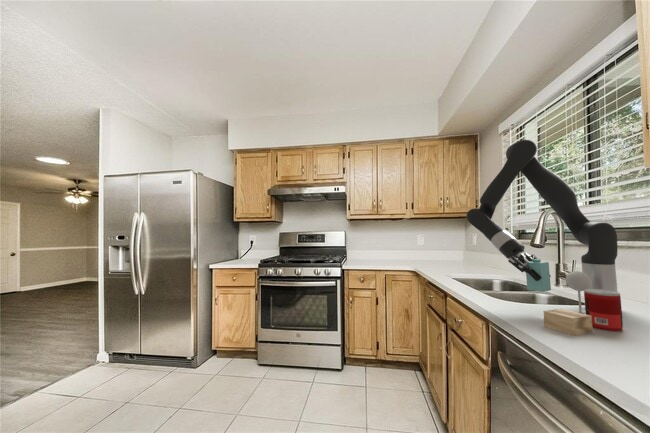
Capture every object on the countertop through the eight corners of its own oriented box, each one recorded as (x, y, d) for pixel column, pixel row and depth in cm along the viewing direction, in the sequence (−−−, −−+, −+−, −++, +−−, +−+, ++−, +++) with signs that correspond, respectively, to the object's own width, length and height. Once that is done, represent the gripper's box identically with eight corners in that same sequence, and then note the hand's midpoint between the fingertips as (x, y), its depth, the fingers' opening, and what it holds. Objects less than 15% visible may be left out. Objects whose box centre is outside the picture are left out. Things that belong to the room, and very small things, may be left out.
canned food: (631, 332, 79) (627, 294, 80) (598, 330, 81) (595, 293, 81) (609, 323, 87) (606, 289, 87) (580, 322, 88) (577, 288, 89)
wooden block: (562, 324, 87) (561, 308, 88) (592, 332, 80) (591, 315, 80) (544, 327, 85) (543, 311, 85) (574, 336, 77) (572, 318, 78)
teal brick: (535, 287, 101) (532, 258, 102) (551, 290, 96) (548, 259, 97) (527, 289, 99) (524, 259, 100) (542, 291, 94) (540, 260, 95)
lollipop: (575, 309, 103) (572, 269, 104) (599, 314, 97) (595, 271, 98) (563, 310, 101) (560, 270, 102) (586, 316, 94) (583, 273, 96)
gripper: (501, 238, 103) (540, 274, 91) (524, 237, 109) (563, 270, 97) (489, 251, 107) (524, 287, 95) (511, 249, 113) (547, 283, 101)
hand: (543, 278), depth 96 cm, fingers closed on teal brick, 5 cm apart
